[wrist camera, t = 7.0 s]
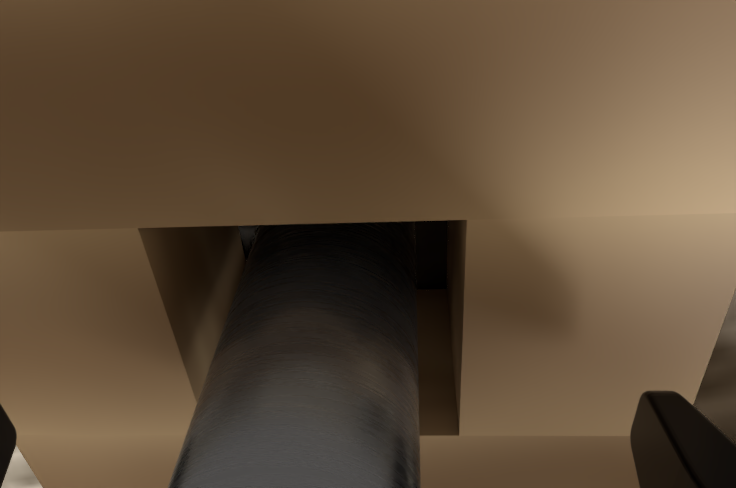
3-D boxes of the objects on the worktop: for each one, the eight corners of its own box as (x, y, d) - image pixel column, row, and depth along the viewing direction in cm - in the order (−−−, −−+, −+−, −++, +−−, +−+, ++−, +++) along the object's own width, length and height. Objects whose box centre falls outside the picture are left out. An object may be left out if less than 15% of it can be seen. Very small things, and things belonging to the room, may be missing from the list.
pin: (415, 262, 14) (431, 943, 5) (282, 264, 14) (105, 923, 6) (413, 138, 12) (429, 871, 4) (260, 144, 12) (-41, 845, 4)
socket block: (591, 398, 16) (638, 551, 13) (141, 400, 17) (77, 542, 13) (712, -153, 9) (890, -132, 6) (-65, -99, 10) (-299, -54, 7)
